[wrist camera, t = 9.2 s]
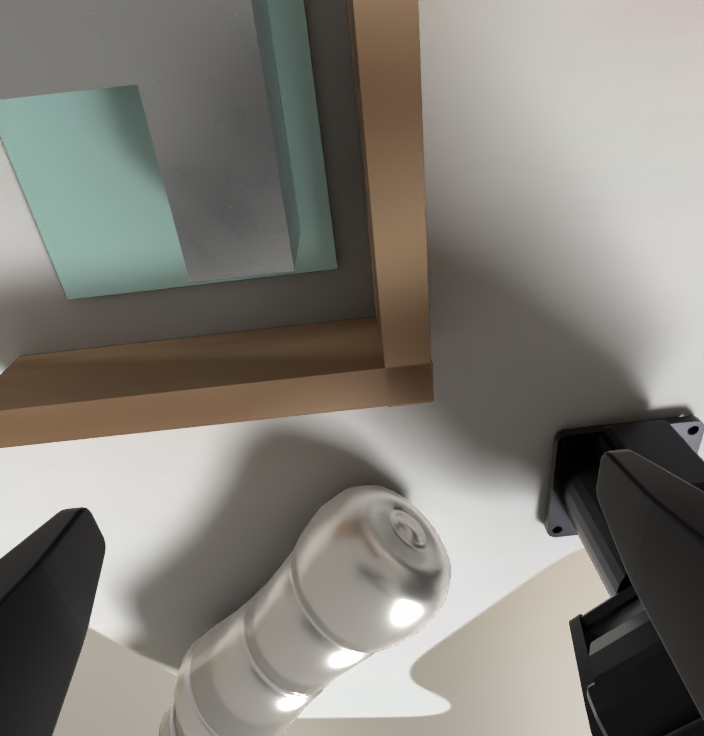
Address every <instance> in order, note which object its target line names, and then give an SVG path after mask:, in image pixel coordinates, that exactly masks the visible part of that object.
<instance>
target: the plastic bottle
mask: <svg viewBox="0 0 704 736" xmlns="http://www.w3.org/2000/svg"><path fill="white" fill-rule="evenodd" d="M450 578H451V566H450V561H449V557H448V554H447V551H446V549H445V546H444V544H443V542H442V540H441V538H440V537H439V535H438V534H437V532H436V530H435V529H434V527H433V526H432V525H431V524H430V522H429V521H428V520H427V518H426V517H425V516H424V515H423V514H422V513H421V512H420V511H419V510H418V509H417V508H416V507H415V506H414V505H413V504H412V503H410V502H409V501H408V500H406V499H405V498H404V497H402V496H401V495H399V494H398V493H396V492H394V491H392V490H390V489H388V488H385V487H382V486H378V485H363V486H355V487H351V488H347V489H345V490H344V491H342V492H341V493H339V494H338V495H336V496H335V497H334V498H332V499H331V500H329V501H328V502H327V503H325V504H324V505H322V506H321V507H320V508H319V509H318V511H317V512H316V513H315V515H314V516H313V518H312V519H311V520H310V522H309V523H308V525H307V526H306V528H305V529H304V531H303V532H302V534H301V535H300V537H299V539H298V541H297V543H296V545H295V547H294V549H293V551H292V552H291V553H290V555H289V556H288V557H287V558H286V560H285V561H284V562H283V563H282V565H281V566H280V567H279V569H278V570H277V571H276V572H275V574H274V575H273V576H272V578H271V579H270V580H269V581H268V583H267V584H266V585H265V586H264V587H262V588H261V589H260V590H259V591H258V592H257V593H256V594H255V595H254V596H253V597H252V598H250V599H249V600H248V601H247V602H246V603H245V604H244V605H242V606H241V607H240V608H239V609H238V610H237V611H235V612H234V613H233V614H231V615H230V616H228V617H227V618H225V619H224V620H222V621H221V622H220V623H218V624H217V625H215V626H214V627H212V628H211V629H209V630H208V631H207V632H205V633H204V634H203V635H202V636H201V637H199V638H198V639H197V640H196V641H195V642H194V643H193V644H192V645H191V646H190V648H189V649H188V650H187V652H186V654H185V656H184V658H183V660H182V662H181V665H180V668H179V670H178V674H177V677H176V681H175V689H174V701H173V703H172V705H171V706H170V707H169V709H168V710H167V711H166V712H165V714H164V716H163V719H162V721H161V724H160V728H159V736H282V735H283V734H284V733H285V731H286V730H287V729H288V727H289V726H290V725H291V724H292V723H293V721H294V720H295V719H296V718H297V717H298V715H299V714H300V713H301V712H302V710H303V709H304V708H305V707H306V706H307V705H308V704H309V703H310V702H311V701H312V700H313V699H314V698H315V697H316V696H317V695H319V694H320V693H321V692H322V690H323V689H324V688H325V687H327V686H328V685H329V684H330V683H331V682H332V681H333V680H334V679H335V678H336V677H338V676H339V675H341V674H343V673H344V672H346V671H347V670H349V669H350V668H352V667H354V666H355V665H357V664H358V663H360V662H361V661H363V660H365V659H366V658H368V657H369V656H371V655H372V654H374V653H376V652H379V651H382V650H384V649H387V648H390V647H392V646H395V645H397V644H398V643H400V642H402V641H404V640H406V639H408V638H409V637H411V636H413V635H415V634H417V633H418V632H420V631H421V630H422V629H423V628H425V626H426V625H427V624H428V623H429V622H430V620H431V619H432V618H433V617H434V615H435V614H436V613H437V612H438V611H439V609H440V608H441V607H442V605H443V604H444V602H445V600H446V597H447V593H448V588H449V583H450Z"/></svg>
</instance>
